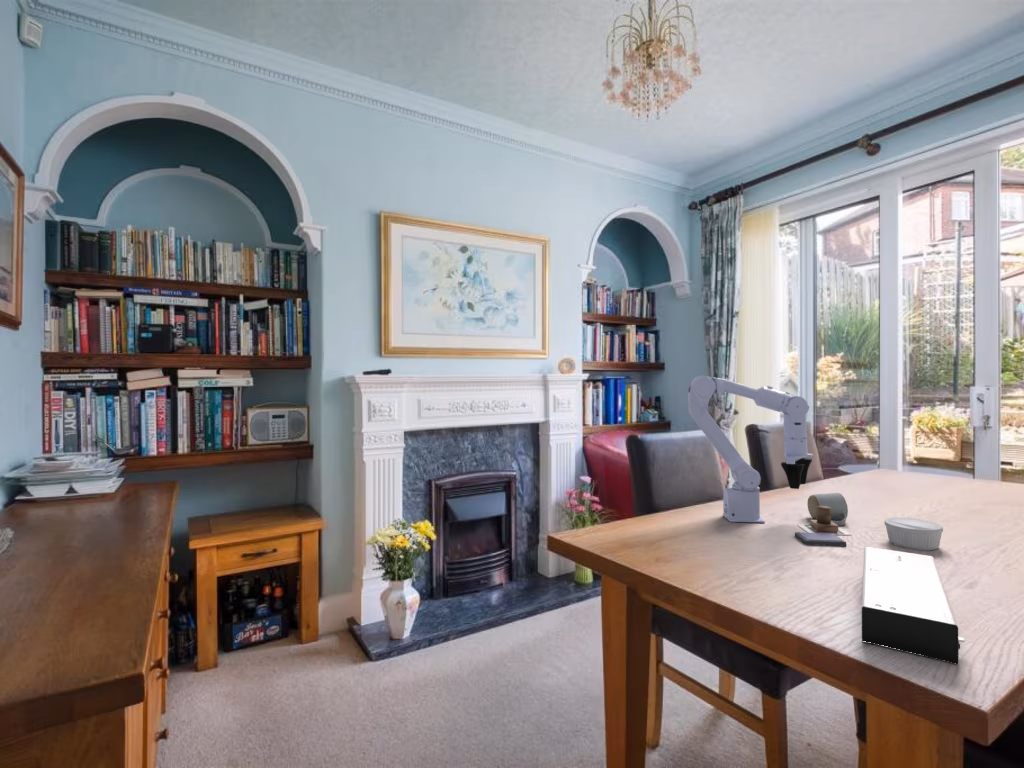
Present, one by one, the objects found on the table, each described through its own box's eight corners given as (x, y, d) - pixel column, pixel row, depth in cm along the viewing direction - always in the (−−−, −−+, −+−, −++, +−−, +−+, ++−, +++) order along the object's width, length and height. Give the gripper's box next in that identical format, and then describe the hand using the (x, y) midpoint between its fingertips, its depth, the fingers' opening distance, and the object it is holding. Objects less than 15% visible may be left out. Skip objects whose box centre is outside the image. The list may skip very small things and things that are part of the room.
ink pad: (806, 544, 125) (806, 540, 125) (794, 536, 132) (794, 531, 132) (846, 546, 123) (846, 541, 123) (832, 537, 130) (832, 532, 130)
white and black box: (864, 575, 106) (864, 546, 106) (941, 589, 99) (941, 557, 99) (861, 646, 78) (861, 606, 78) (969, 672, 71) (969, 627, 71)
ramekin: (889, 548, 122) (888, 526, 122) (881, 535, 132) (880, 515, 132) (949, 555, 117) (949, 532, 117) (936, 541, 126) (936, 520, 126)
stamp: (817, 532, 134) (817, 509, 134) (810, 526, 139) (809, 504, 139) (838, 532, 133) (838, 509, 133) (830, 527, 138) (830, 505, 138)
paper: (809, 533, 133) (809, 532, 133) (797, 525, 141) (797, 524, 141) (851, 535, 132) (851, 534, 132) (836, 526, 140) (836, 525, 140)
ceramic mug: (805, 515, 151) (805, 489, 151) (835, 516, 150) (835, 490, 150) (823, 526, 141) (823, 498, 140) (855, 527, 140) (855, 499, 139)
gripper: (805, 441, 137) (808, 492, 136) (817, 435, 147) (819, 482, 147) (776, 440, 141) (779, 489, 141) (789, 435, 152) (792, 480, 152)
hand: (797, 486), depth 145 cm, fingers open, 7 cm apart
